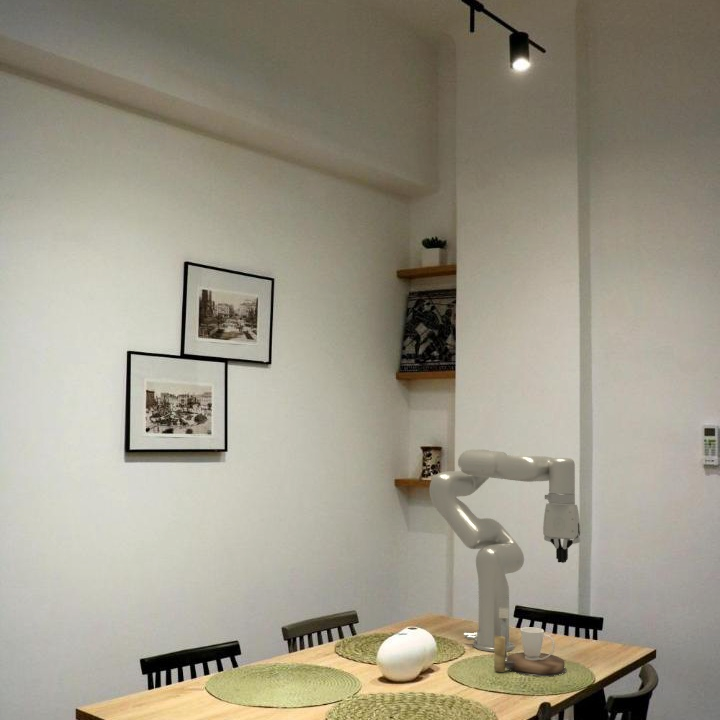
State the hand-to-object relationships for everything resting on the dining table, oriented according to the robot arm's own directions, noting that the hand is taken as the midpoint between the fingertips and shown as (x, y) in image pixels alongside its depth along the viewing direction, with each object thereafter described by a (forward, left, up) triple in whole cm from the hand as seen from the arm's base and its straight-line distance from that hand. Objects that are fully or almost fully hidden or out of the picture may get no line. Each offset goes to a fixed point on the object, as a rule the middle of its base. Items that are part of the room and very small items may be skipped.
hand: (562, 561), depth 253 cm
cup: (-8, -8, -27) cm, 29 cm away
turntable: (-10, -9, -29) cm, 32 cm away
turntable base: (-8, -8, -29) cm, 31 cm away
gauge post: (-17, 0, -29) cm, 34 cm away
